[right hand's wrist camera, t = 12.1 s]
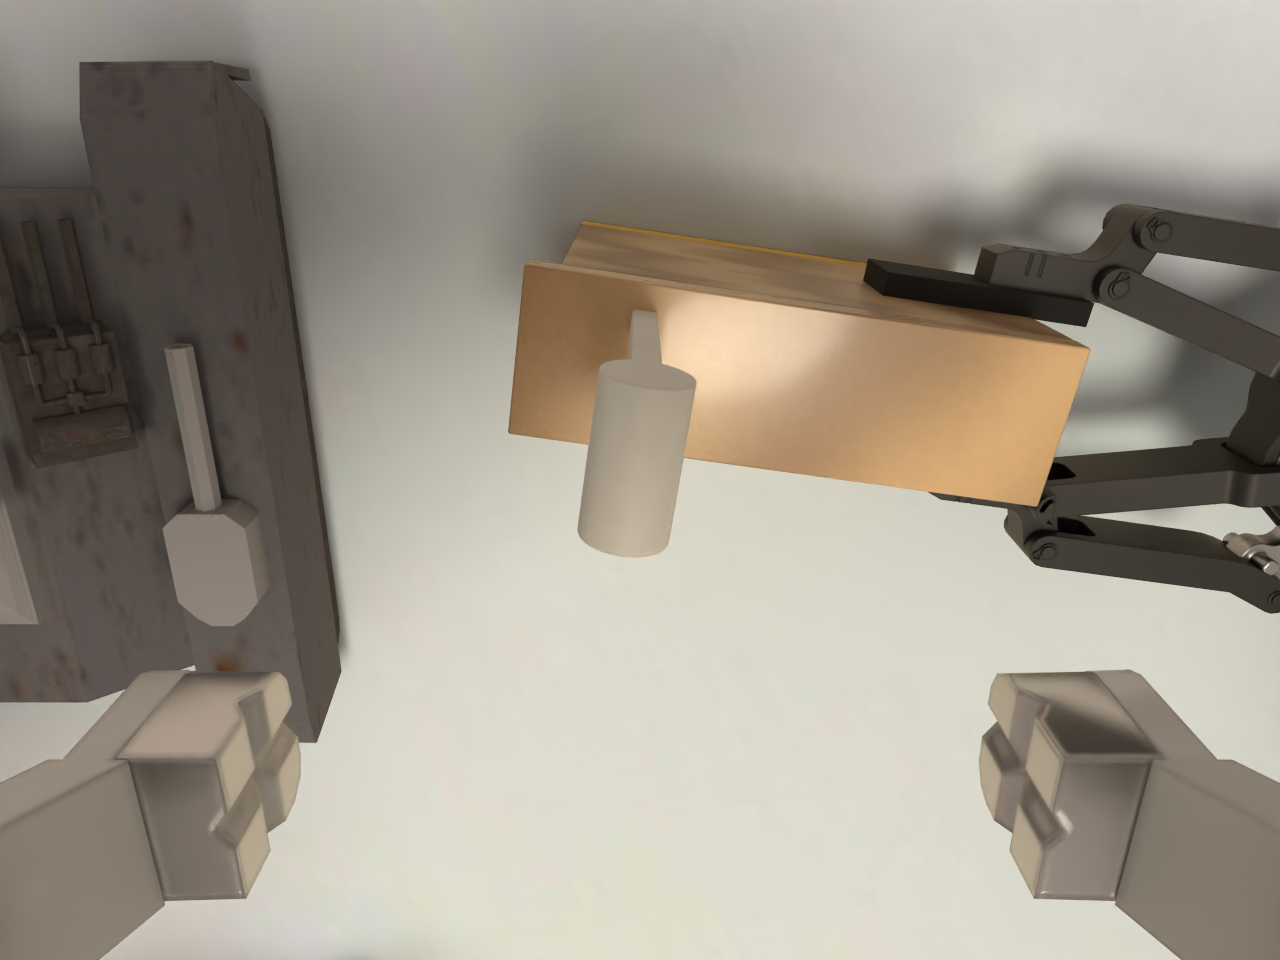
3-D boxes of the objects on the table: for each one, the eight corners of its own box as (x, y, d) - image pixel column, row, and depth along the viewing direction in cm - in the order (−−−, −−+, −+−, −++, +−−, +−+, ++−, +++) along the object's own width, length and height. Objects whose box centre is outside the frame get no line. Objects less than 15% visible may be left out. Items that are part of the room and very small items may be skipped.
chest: (568, 342, 36) (541, 427, 26) (582, 220, 34) (560, 263, 25) (924, 393, 37) (1025, 494, 27) (956, 276, 35) (1076, 339, 25)
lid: (512, 423, 26) (454, 560, 18) (528, 258, 25) (472, 331, 17) (1025, 494, 27) (1187, 656, 19) (1076, 340, 25) (1279, 447, 17)
